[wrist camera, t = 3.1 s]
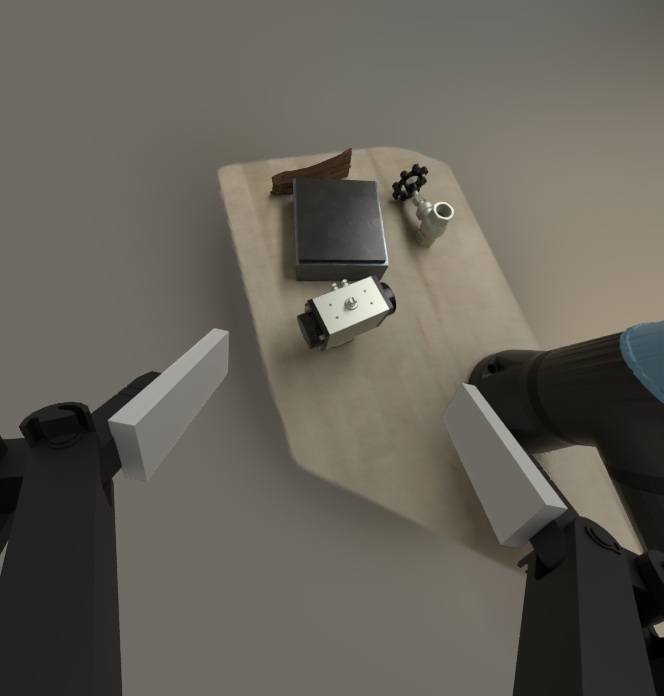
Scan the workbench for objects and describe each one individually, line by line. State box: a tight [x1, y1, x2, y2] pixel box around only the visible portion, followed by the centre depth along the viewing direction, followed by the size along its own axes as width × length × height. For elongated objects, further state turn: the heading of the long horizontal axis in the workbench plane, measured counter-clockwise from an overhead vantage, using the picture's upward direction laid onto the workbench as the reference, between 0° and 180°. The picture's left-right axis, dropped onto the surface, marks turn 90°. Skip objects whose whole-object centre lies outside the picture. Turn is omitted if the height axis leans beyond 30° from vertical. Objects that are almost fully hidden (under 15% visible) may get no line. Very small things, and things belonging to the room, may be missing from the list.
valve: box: [392, 164, 455, 247], centre depth 43 cm, size 7×7×12 cm
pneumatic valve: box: [297, 275, 396, 351], centre depth 33 cm, size 6×12×12 cm, turn 116°
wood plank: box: [270, 148, 352, 194], centre depth 43 cm, size 15×2×5 cm, turn 119°
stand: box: [293, 178, 389, 281], centre depth 41 cm, size 16×14×5 cm
